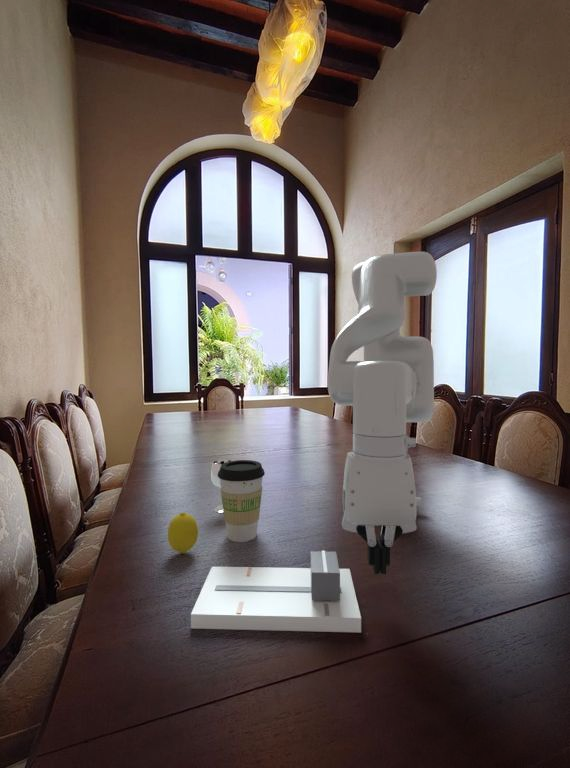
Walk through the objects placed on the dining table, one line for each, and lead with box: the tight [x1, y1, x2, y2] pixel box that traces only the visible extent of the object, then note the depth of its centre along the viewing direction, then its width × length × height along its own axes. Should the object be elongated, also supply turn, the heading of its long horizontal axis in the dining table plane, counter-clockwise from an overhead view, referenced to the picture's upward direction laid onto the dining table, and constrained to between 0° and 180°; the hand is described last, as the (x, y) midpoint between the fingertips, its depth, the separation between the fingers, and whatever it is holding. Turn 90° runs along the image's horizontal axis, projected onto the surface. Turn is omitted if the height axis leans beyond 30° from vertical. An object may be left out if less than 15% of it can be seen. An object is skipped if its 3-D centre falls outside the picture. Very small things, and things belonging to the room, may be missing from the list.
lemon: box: [167, 511, 199, 555], centre depth 70 cm, size 6×6×8 cm
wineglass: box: [210, 459, 232, 514], centre depth 92 cm, size 6×6×12 cm
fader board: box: [190, 566, 362, 633], centre depth 56 cm, size 23×12×2 cm, turn 88°
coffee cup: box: [218, 459, 265, 543], centre depth 78 cm, size 10×10×15 cm
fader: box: [310, 550, 340, 600], centre depth 55 cm, size 4×6×4 cm, turn 178°
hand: (378, 569), depth 54 cm, fingers closed
